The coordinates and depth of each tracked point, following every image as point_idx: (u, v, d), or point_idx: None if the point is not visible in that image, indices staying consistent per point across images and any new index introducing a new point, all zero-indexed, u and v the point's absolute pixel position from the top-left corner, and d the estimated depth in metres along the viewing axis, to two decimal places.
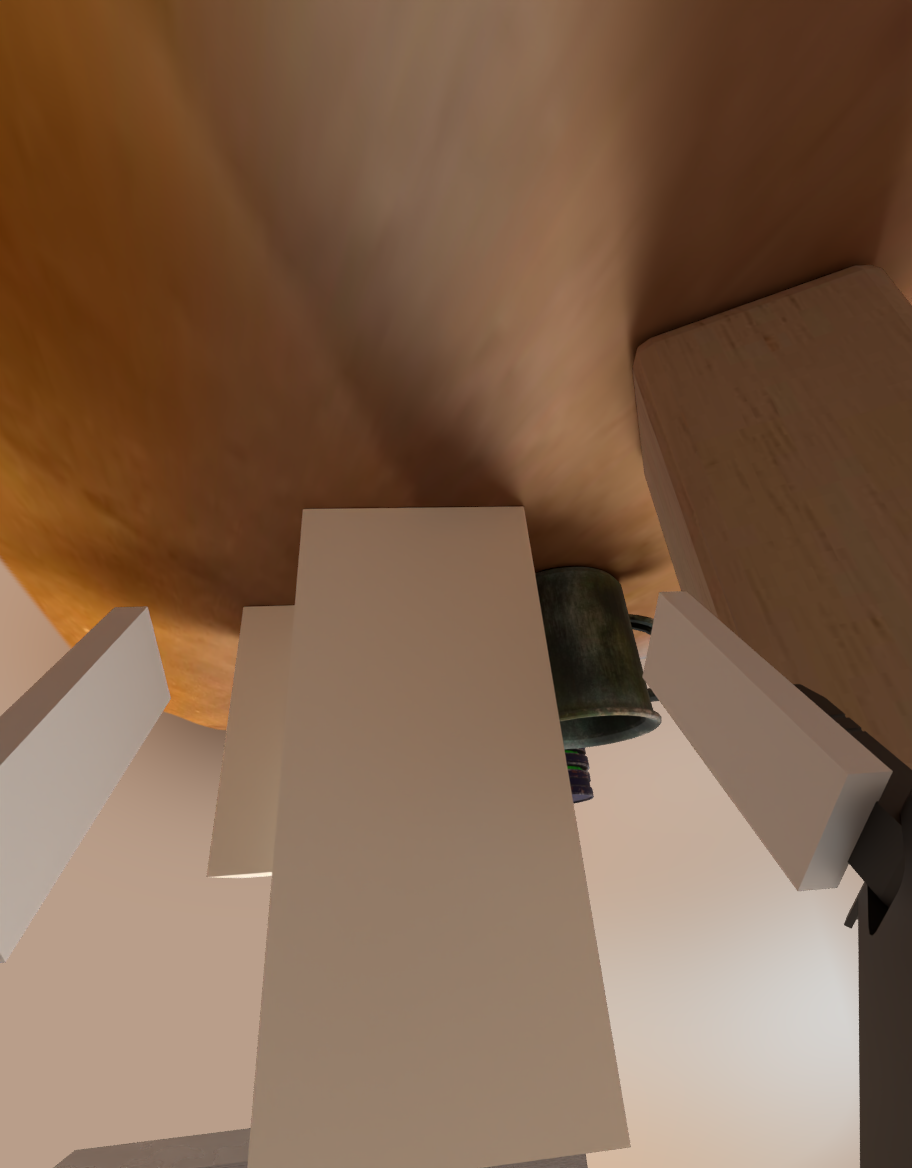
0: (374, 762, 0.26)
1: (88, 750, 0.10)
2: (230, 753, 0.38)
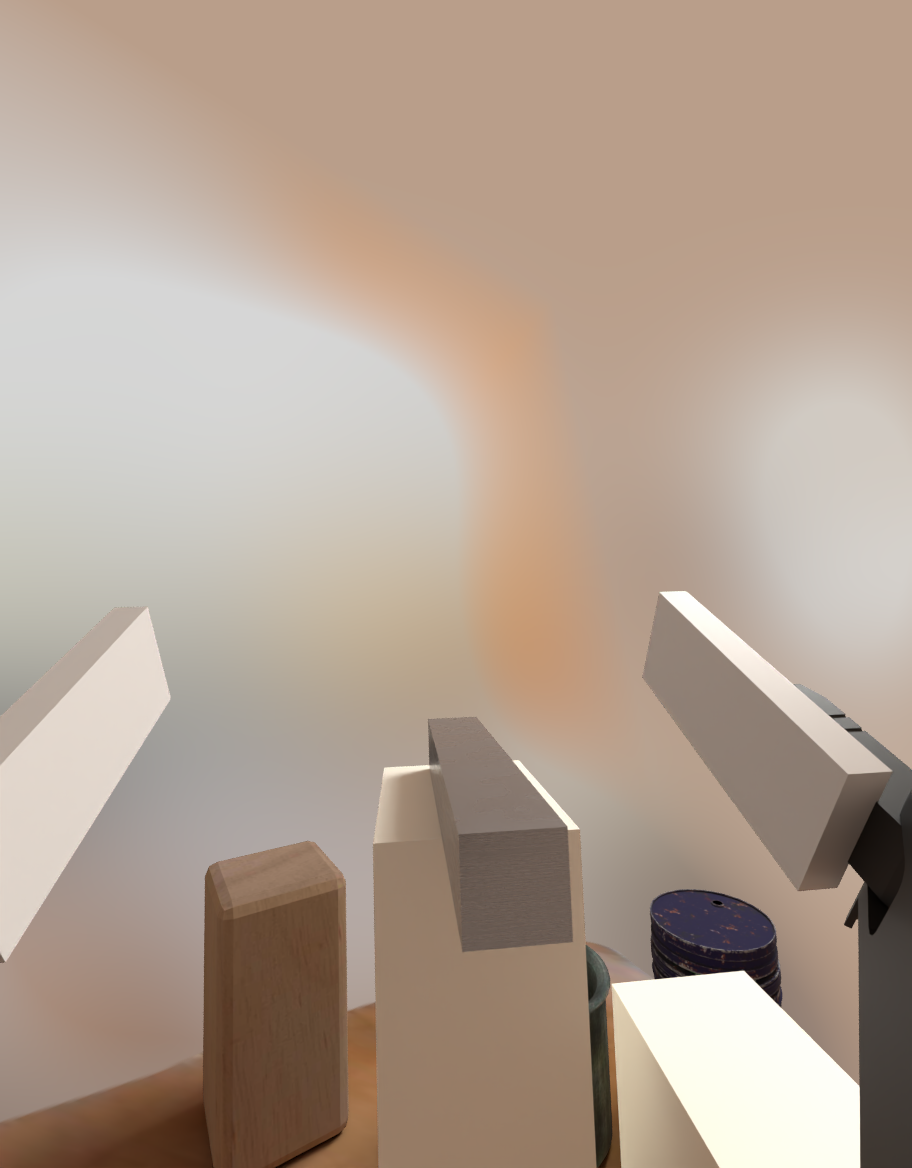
0: None
1: (88, 750, 0.10)
2: None
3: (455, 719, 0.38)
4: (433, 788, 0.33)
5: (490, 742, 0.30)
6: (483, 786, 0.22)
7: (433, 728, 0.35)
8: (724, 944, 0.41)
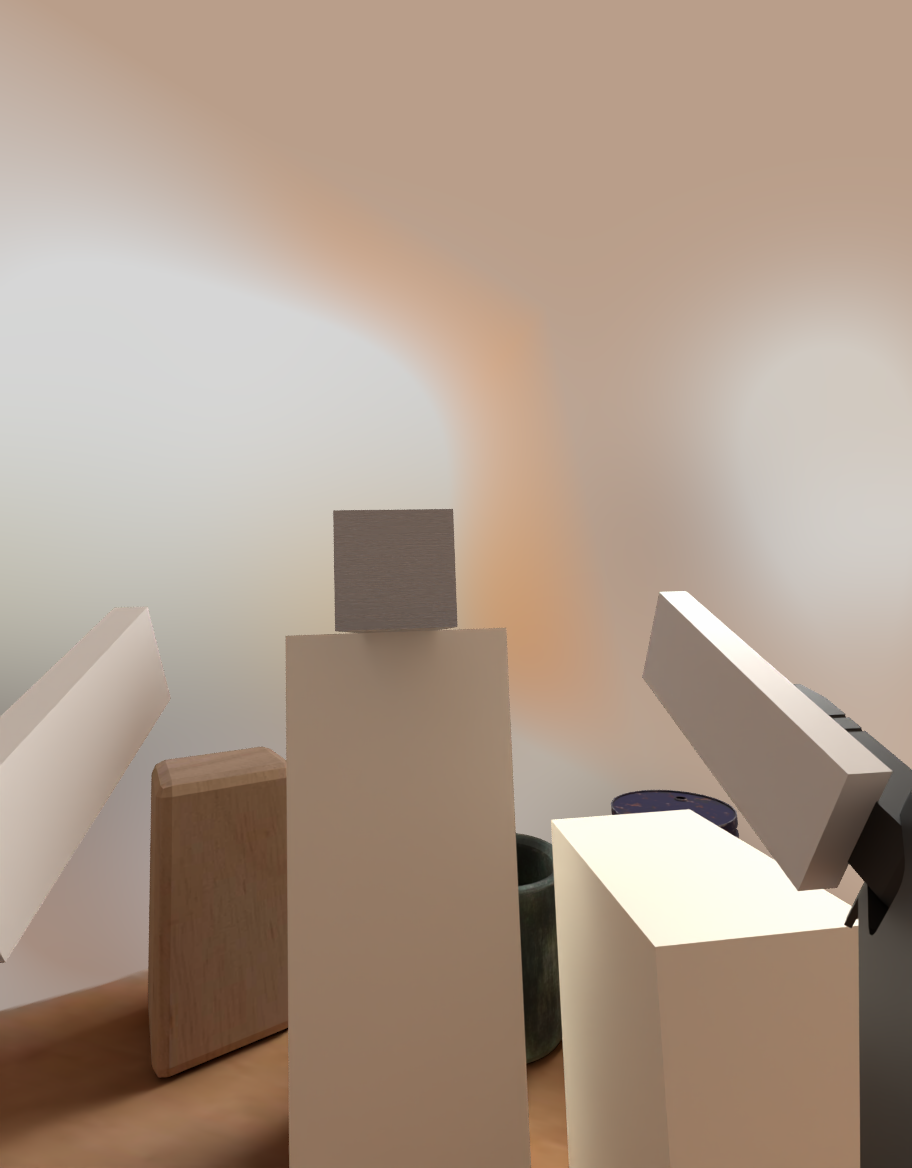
0: None
1: (88, 750, 0.10)
2: None
3: None
4: None
5: None
6: None
7: None
8: None
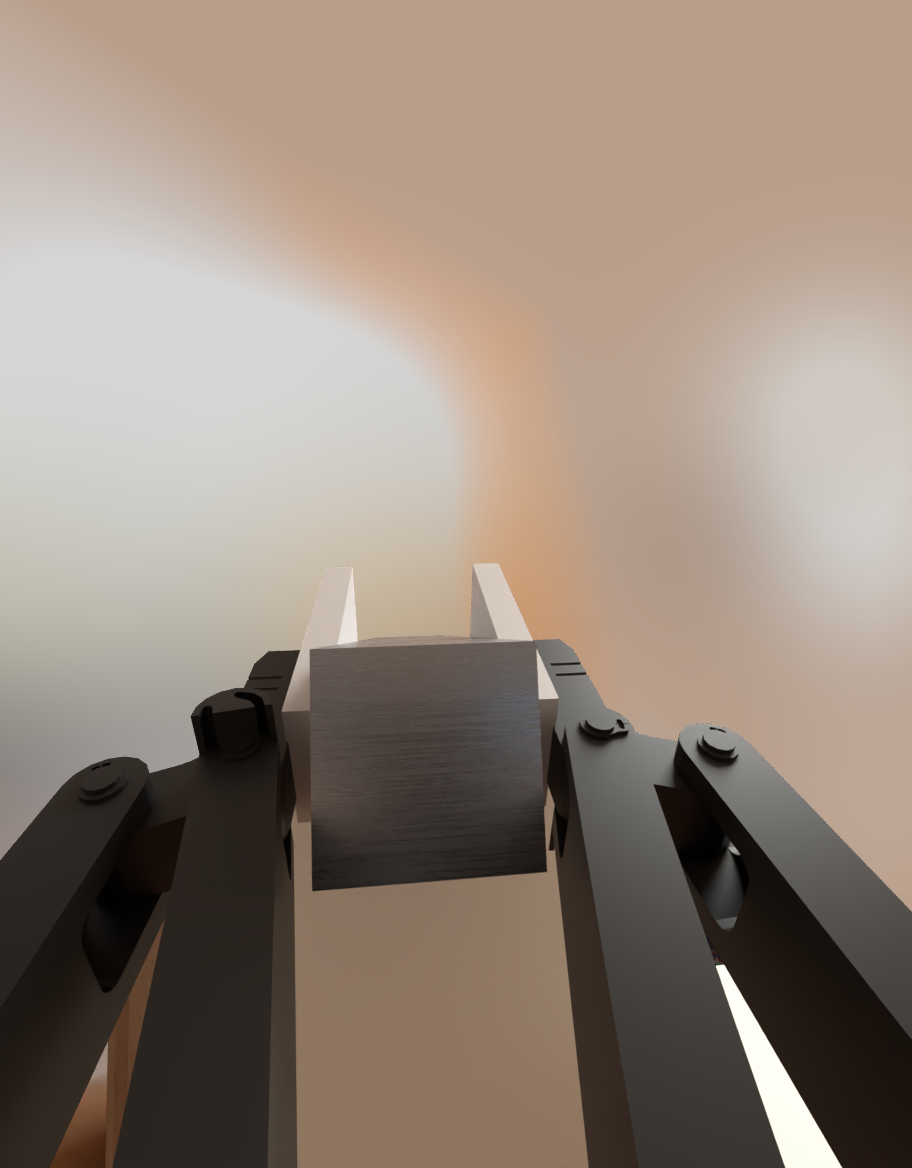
0: None
1: None
2: None
3: None
4: None
5: None
6: None
7: None
8: None
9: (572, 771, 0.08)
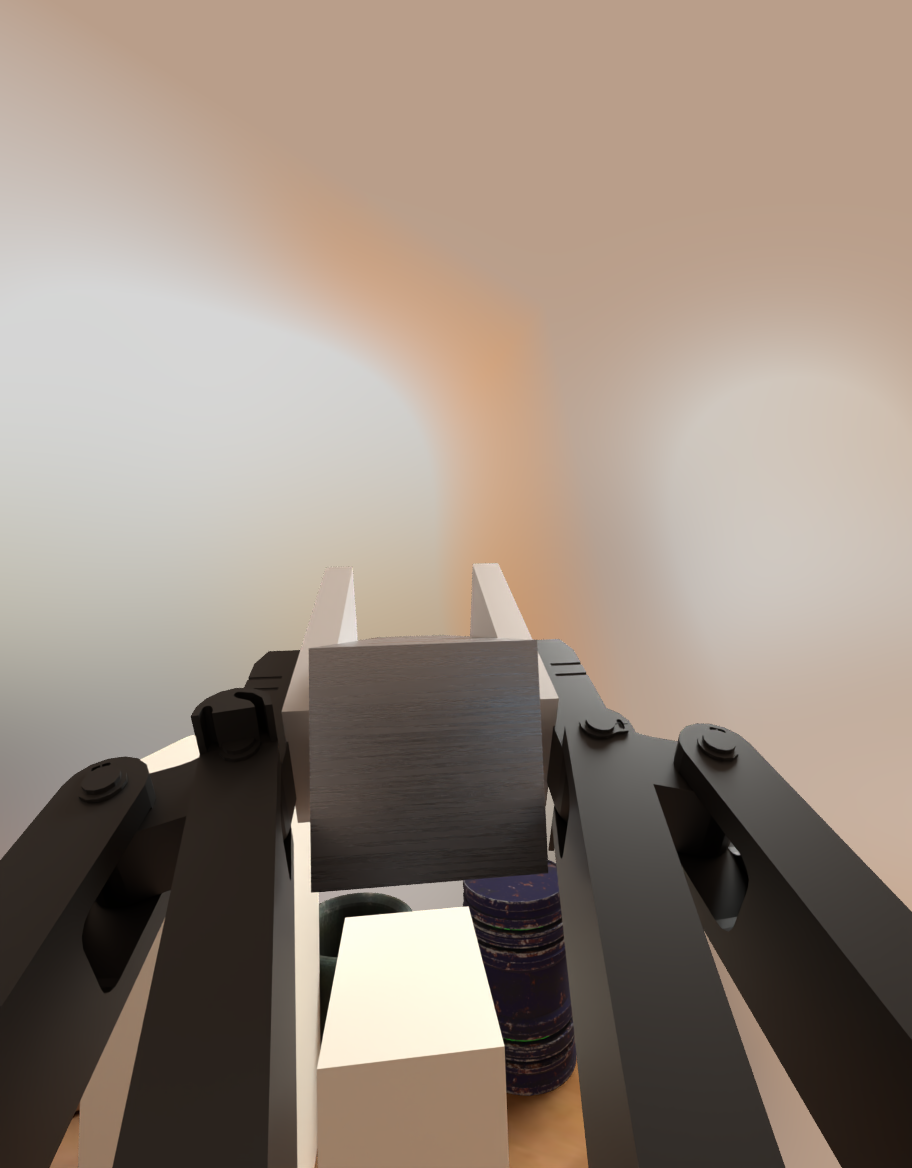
0: None
1: None
2: None
3: None
4: None
5: None
6: (406, 640, 0.13)
7: None
8: (512, 897, 0.45)
9: (572, 771, 0.08)
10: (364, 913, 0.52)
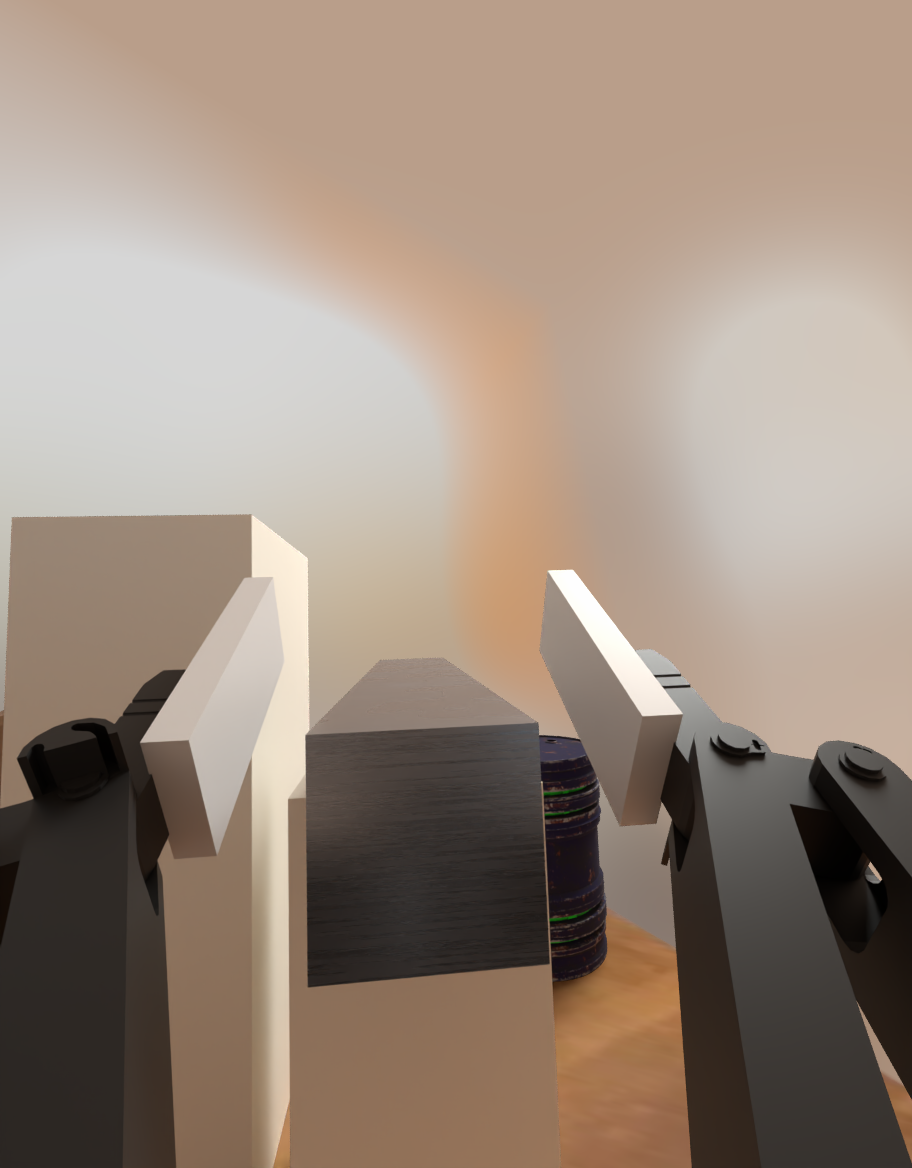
0: None
1: (248, 694, 0.12)
2: None
3: (414, 659, 0.29)
4: None
5: (448, 668, 0.21)
6: (407, 693, 0.13)
7: (380, 663, 0.26)
8: None
9: (701, 784, 0.08)
10: None
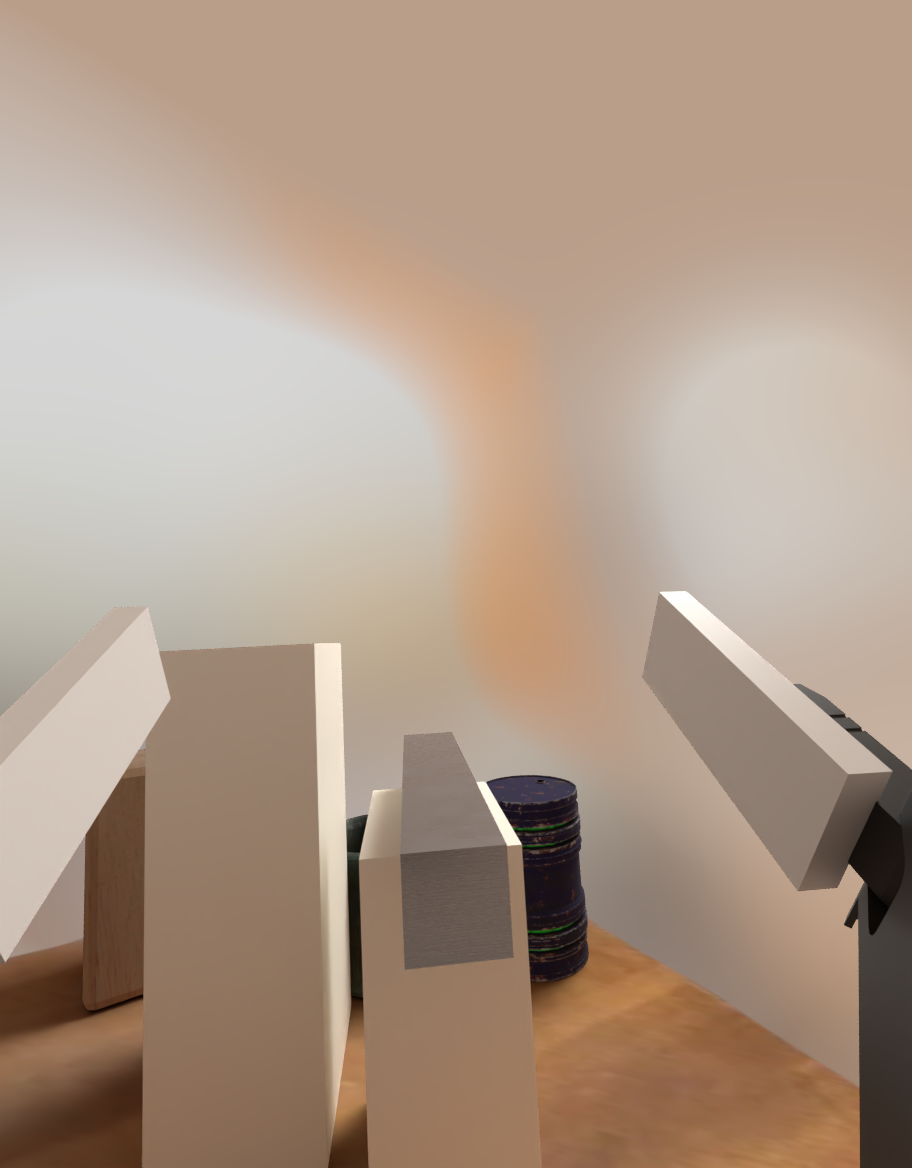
0: None
1: (88, 750, 0.10)
2: None
3: (430, 735, 0.38)
4: None
5: (457, 758, 0.30)
6: (437, 804, 0.22)
7: (406, 745, 0.35)
8: (525, 801, 0.49)
9: None
10: None
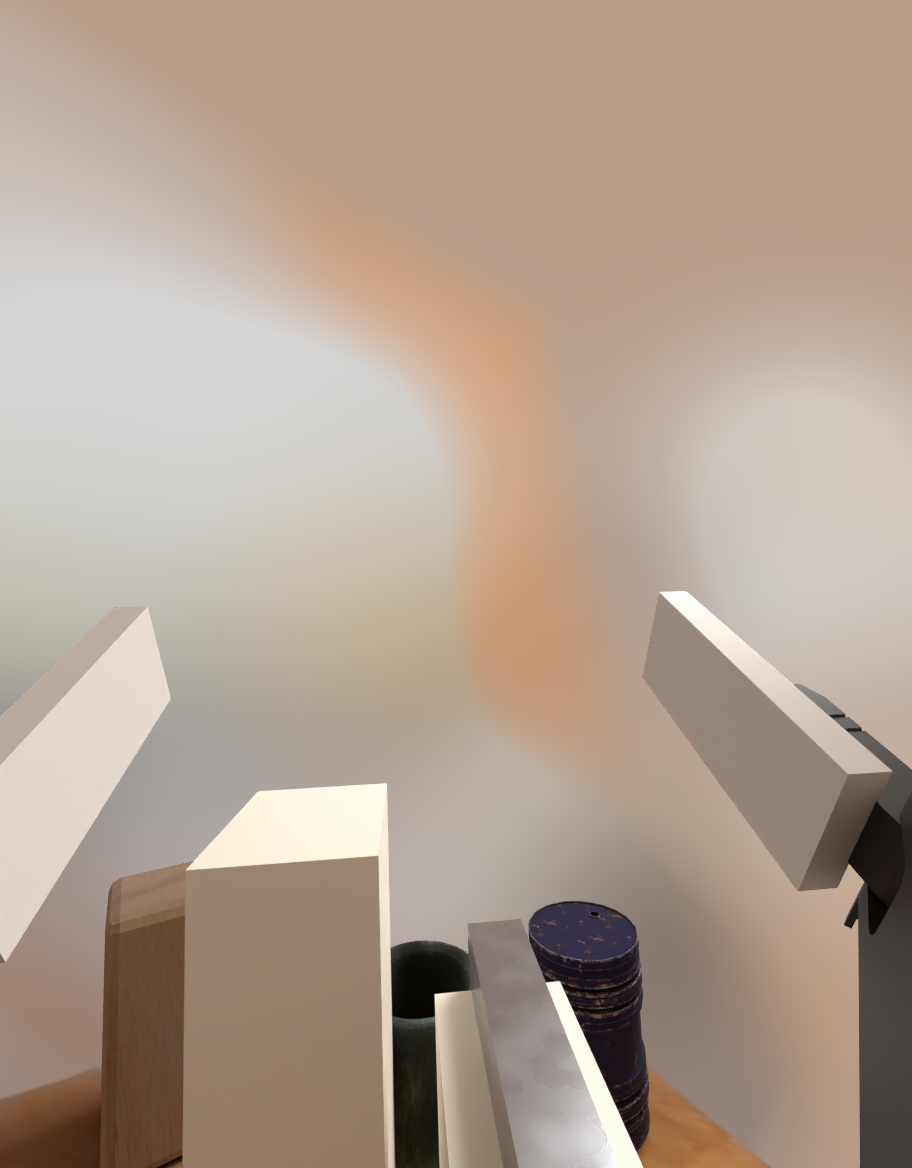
0: None
1: (88, 750, 0.10)
2: None
3: (498, 927, 0.34)
4: (481, 1044, 0.29)
5: (551, 1017, 0.26)
6: None
7: (478, 958, 0.31)
8: (584, 954, 0.44)
9: None
10: (425, 962, 0.51)
